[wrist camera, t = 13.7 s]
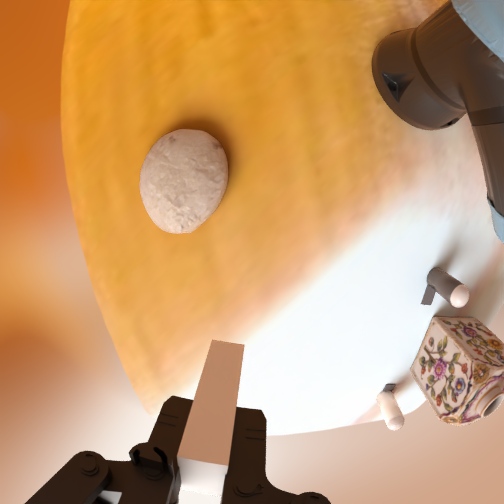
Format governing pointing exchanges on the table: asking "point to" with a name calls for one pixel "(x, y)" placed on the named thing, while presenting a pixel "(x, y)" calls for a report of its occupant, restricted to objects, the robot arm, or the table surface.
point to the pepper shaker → (448, 287)
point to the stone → (183, 179)
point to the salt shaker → (390, 410)
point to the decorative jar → (460, 369)
